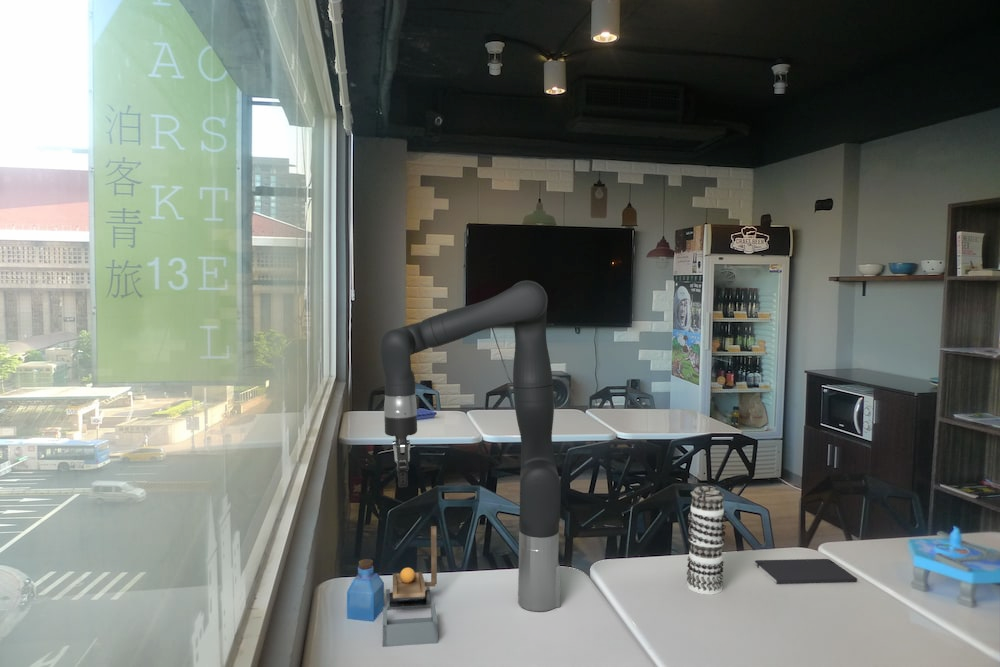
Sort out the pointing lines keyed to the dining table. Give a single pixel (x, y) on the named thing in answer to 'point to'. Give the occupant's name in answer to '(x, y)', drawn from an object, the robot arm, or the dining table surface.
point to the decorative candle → (706, 540)
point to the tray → (410, 630)
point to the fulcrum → (407, 601)
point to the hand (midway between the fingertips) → (402, 481)
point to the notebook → (804, 571)
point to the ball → (407, 575)
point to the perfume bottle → (365, 594)
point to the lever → (417, 576)
